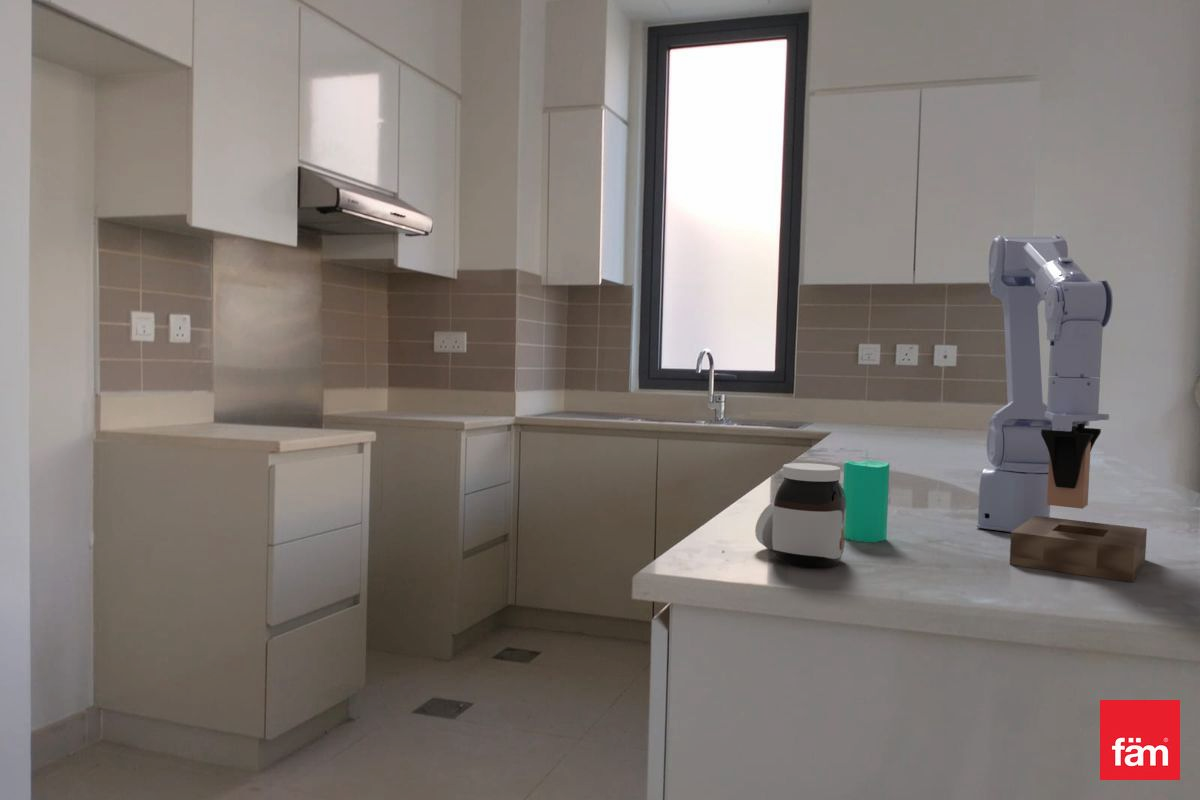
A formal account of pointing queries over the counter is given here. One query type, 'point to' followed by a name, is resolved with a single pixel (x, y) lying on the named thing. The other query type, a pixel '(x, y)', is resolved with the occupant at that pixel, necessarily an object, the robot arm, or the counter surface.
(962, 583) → the counter surface
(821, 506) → the spread jar
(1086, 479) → the peg
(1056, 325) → the robot arm
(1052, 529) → the socket block
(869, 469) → the candle
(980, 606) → the counter surface
